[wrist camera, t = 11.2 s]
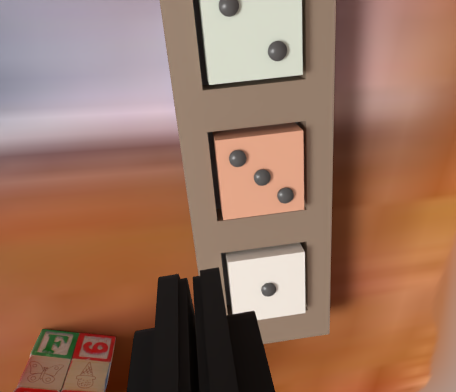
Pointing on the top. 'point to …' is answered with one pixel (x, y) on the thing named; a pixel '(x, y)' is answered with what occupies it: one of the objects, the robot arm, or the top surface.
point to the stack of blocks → (68, 363)
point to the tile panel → (252, 117)
